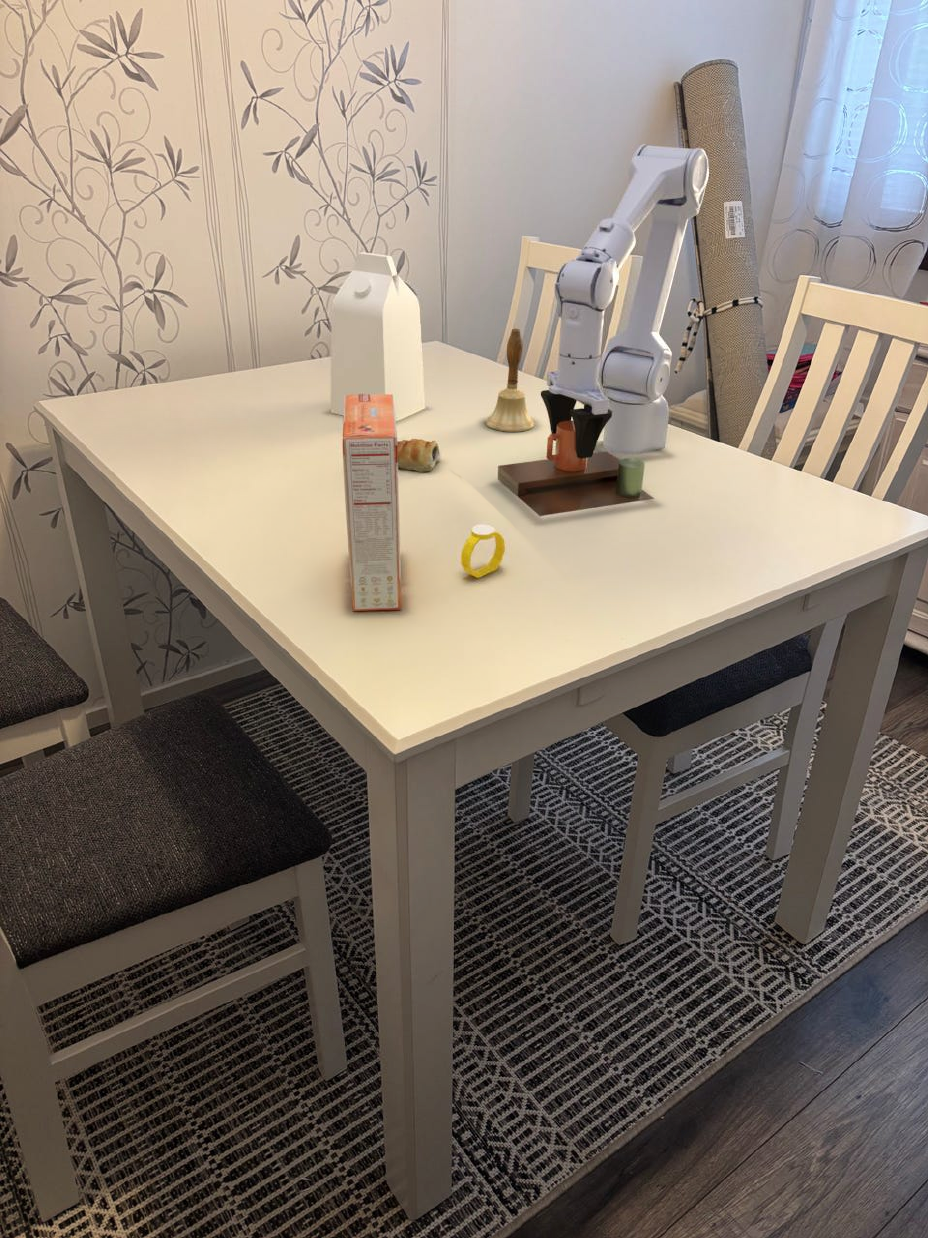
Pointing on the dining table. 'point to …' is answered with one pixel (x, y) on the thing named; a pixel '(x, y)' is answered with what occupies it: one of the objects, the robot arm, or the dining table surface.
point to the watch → (476, 534)
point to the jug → (565, 448)
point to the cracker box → (372, 501)
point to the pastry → (417, 454)
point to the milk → (376, 337)
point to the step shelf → (566, 485)
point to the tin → (630, 477)
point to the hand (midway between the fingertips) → (571, 448)
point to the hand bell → (511, 394)
